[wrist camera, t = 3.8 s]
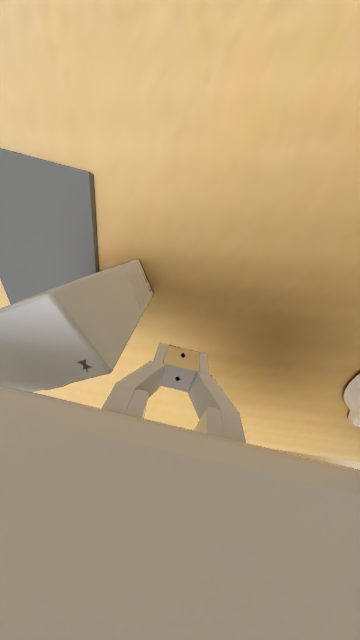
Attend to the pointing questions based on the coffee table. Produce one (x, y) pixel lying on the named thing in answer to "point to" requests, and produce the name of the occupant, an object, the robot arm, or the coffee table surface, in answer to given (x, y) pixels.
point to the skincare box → (72, 329)
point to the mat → (44, 225)
